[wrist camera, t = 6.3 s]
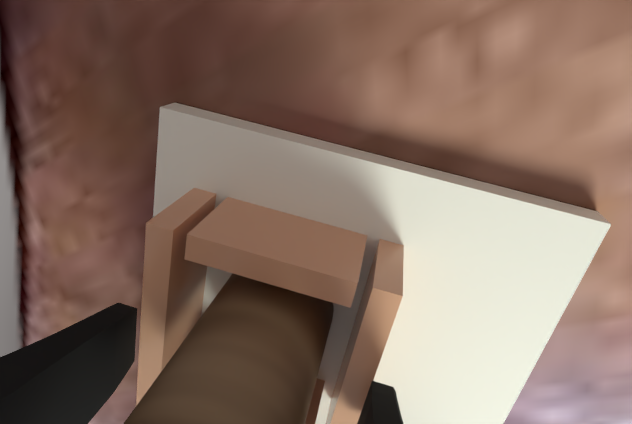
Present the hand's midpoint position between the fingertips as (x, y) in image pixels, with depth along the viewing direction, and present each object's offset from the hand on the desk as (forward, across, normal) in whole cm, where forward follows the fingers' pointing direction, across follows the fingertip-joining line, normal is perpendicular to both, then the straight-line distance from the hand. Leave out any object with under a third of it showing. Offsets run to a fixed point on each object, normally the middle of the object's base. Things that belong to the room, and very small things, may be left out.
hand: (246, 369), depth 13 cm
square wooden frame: (+4, 0, 0) cm, 4 cm away
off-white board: (+4, -2, +4) cm, 6 cm away
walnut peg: (+3, 0, 0) cm, 3 cm away
